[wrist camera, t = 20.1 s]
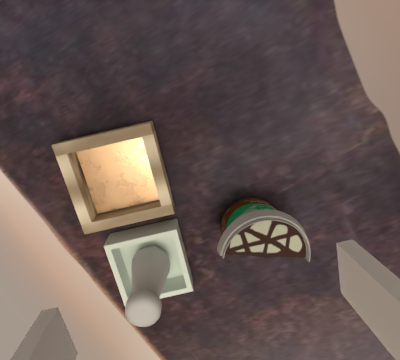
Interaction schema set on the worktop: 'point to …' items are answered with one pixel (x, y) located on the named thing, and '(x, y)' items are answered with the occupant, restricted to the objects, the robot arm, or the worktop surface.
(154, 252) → the salt shaker
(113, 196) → the plate
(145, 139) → the beige square tray
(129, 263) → the bin
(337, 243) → the robot arm
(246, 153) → the worktop surface
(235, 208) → the food container
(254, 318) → the worktop surface
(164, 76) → the worktop surface
